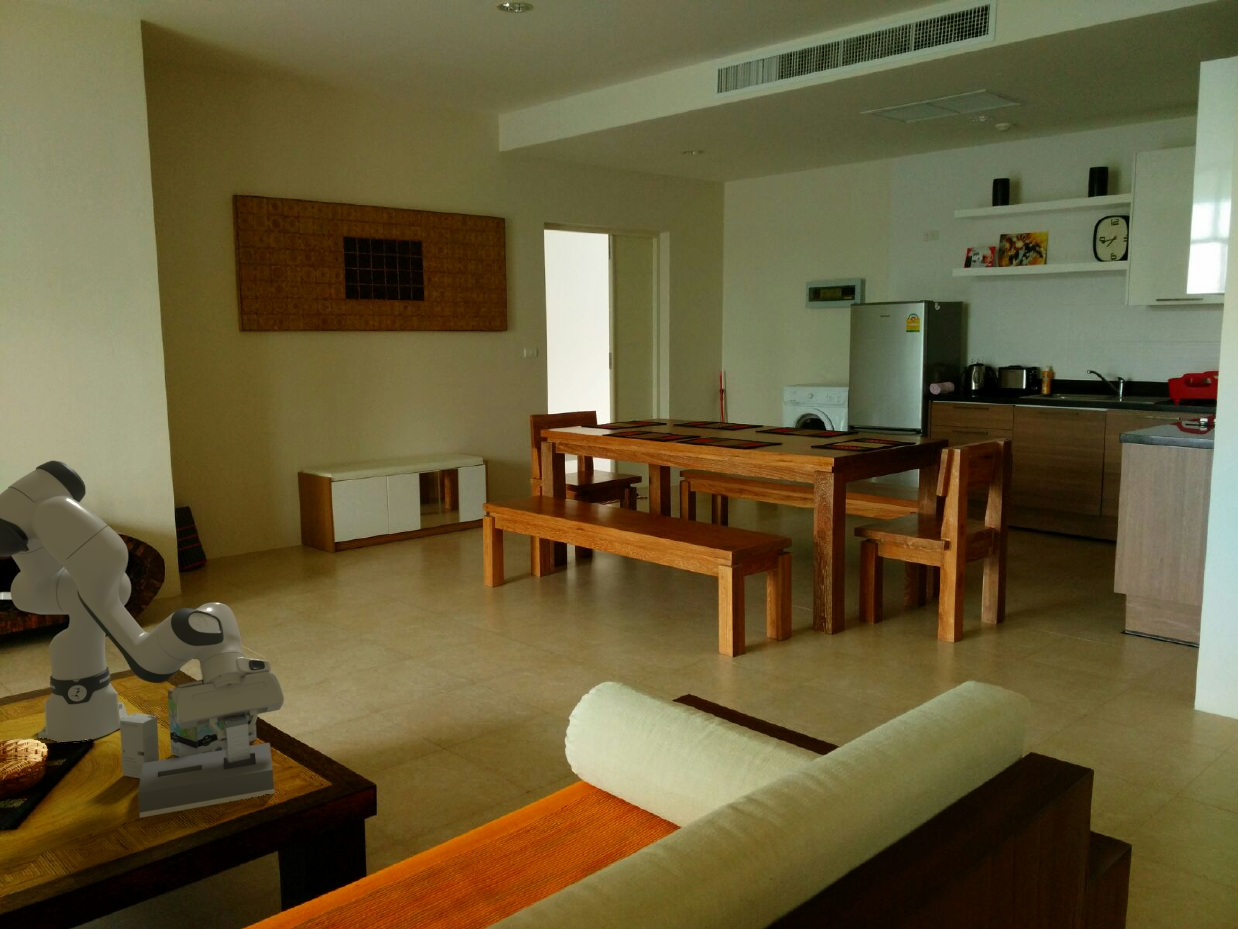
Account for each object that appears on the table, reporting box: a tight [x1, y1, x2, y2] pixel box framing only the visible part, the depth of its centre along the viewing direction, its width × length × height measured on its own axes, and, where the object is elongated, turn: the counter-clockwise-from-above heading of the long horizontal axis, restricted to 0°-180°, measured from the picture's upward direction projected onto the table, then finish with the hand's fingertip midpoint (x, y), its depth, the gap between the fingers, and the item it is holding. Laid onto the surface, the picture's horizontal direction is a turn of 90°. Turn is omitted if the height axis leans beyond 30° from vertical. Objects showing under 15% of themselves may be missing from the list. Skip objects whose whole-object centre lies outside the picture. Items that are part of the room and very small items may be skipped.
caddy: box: [137, 742, 275, 819], centre depth 196 cm, size 14×24×5 cm, turn 112°
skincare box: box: [120, 712, 160, 779], centre depth 203 cm, size 6×4×12 cm
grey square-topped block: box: [223, 713, 250, 763], centre depth 197 cm, size 4×4×8 cm
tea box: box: [167, 678, 257, 757], centre depth 216 cm, size 15×10×15 cm, turn 148°
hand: (236, 737), depth 196 cm, fingers closed on grey square-topped block, 4 cm apart
